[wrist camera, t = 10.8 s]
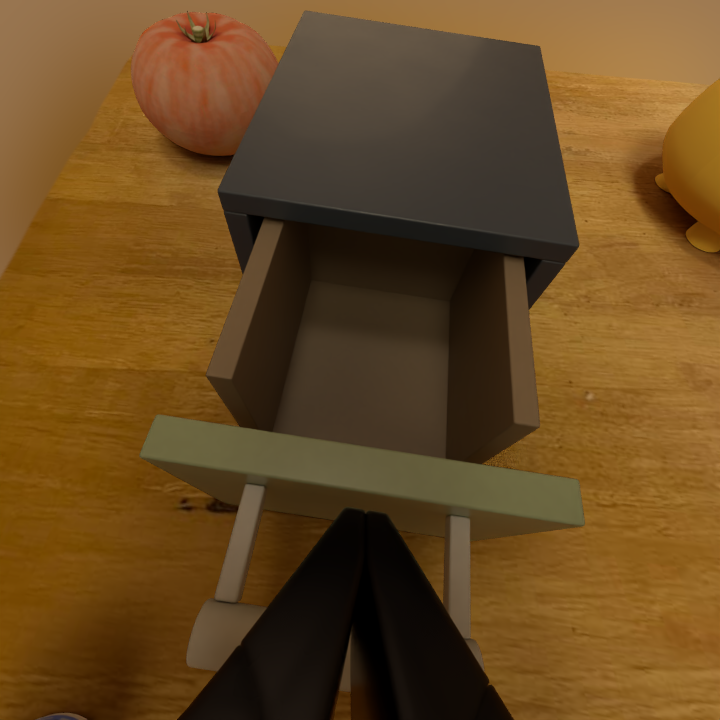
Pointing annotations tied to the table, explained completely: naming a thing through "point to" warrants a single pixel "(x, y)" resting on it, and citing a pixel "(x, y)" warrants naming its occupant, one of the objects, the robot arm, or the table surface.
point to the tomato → (201, 79)
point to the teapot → (696, 167)
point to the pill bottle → (63, 717)
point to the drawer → (367, 406)
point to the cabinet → (407, 144)
